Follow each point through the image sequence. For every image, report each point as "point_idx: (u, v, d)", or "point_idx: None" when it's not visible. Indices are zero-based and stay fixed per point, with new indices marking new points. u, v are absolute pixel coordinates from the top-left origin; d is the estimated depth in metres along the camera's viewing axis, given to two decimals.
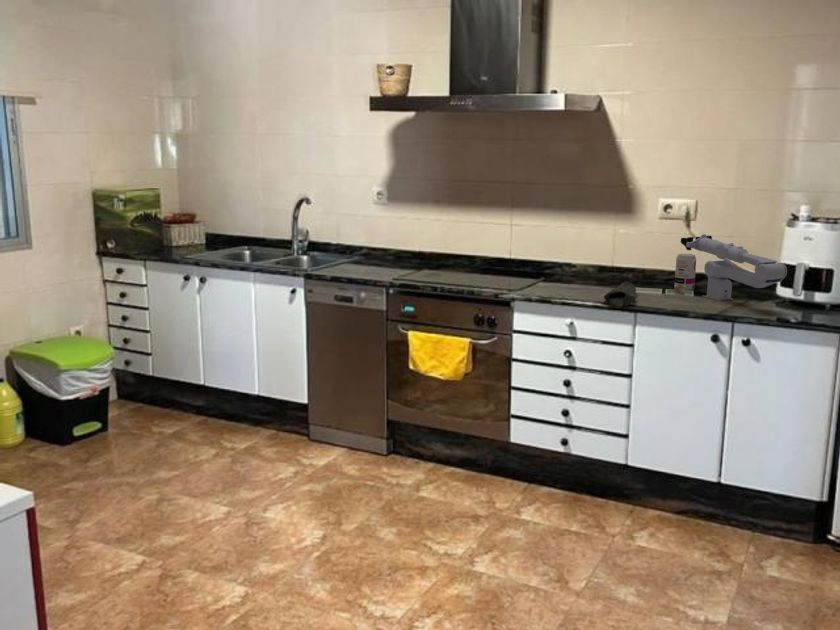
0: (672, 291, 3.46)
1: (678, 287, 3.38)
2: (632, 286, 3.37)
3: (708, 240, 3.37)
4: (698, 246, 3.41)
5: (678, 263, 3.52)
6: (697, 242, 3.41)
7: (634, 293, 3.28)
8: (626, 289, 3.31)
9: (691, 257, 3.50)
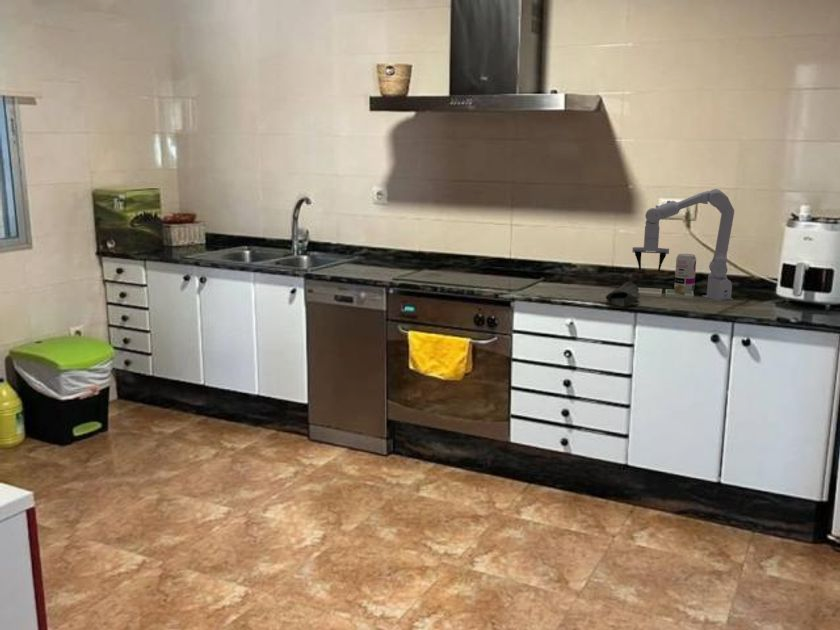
0: (672, 291, 3.46)
1: (678, 287, 3.38)
2: (634, 286, 3.36)
3: (654, 238, 3.37)
4: None
5: (678, 262, 3.52)
6: (658, 249, 3.39)
7: (636, 293, 3.28)
8: (628, 289, 3.31)
9: (691, 257, 3.50)
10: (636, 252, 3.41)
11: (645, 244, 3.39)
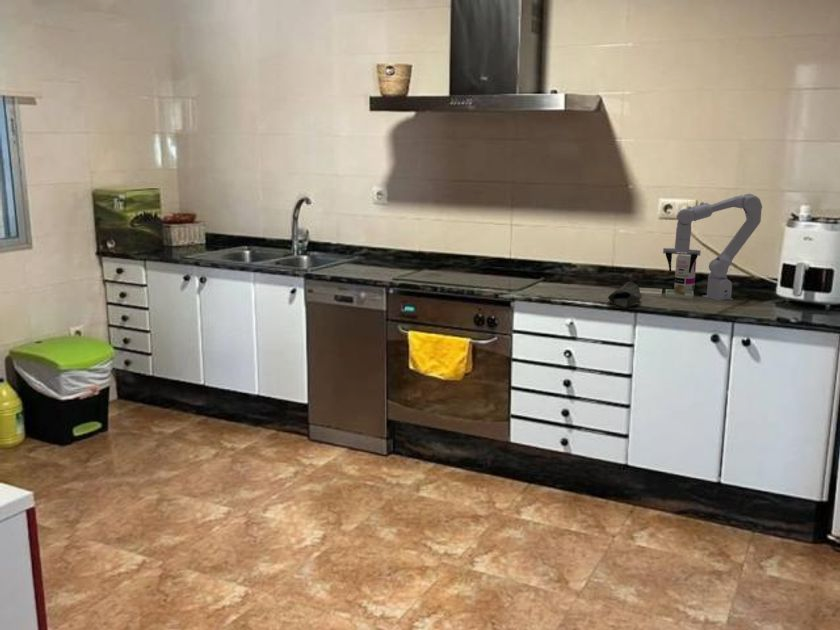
0: (672, 291, 3.46)
1: (678, 287, 3.38)
2: (636, 286, 3.36)
3: (686, 240, 3.33)
4: None
5: (678, 262, 3.52)
6: (689, 250, 3.35)
7: (638, 293, 3.27)
8: (630, 289, 3.30)
9: None
10: (667, 253, 3.38)
11: (676, 245, 3.35)
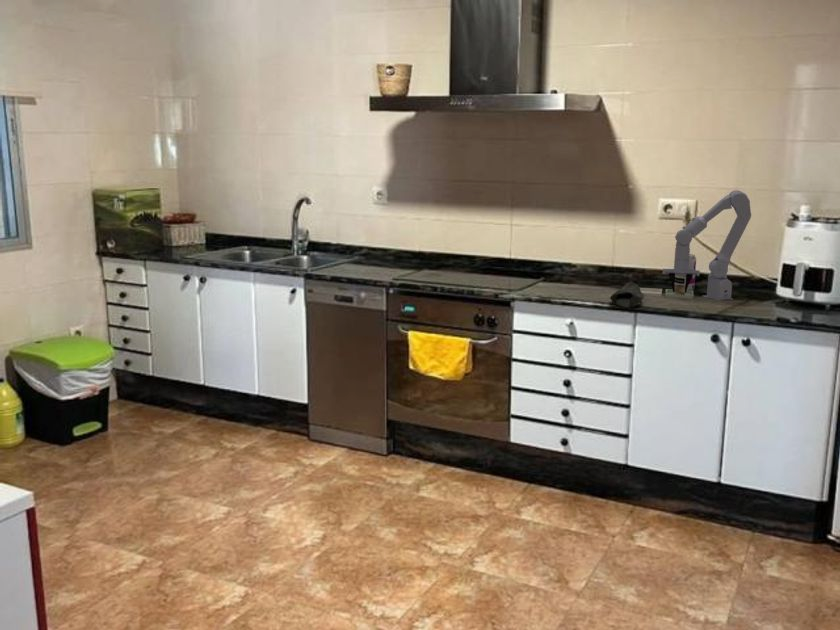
0: (672, 291, 3.46)
1: (678, 287, 3.38)
2: (637, 287, 3.36)
3: (685, 260, 3.35)
4: None
5: None
6: (688, 271, 3.37)
7: (640, 294, 3.27)
8: (631, 290, 3.30)
9: (691, 257, 3.50)
10: None
11: (675, 266, 3.37)
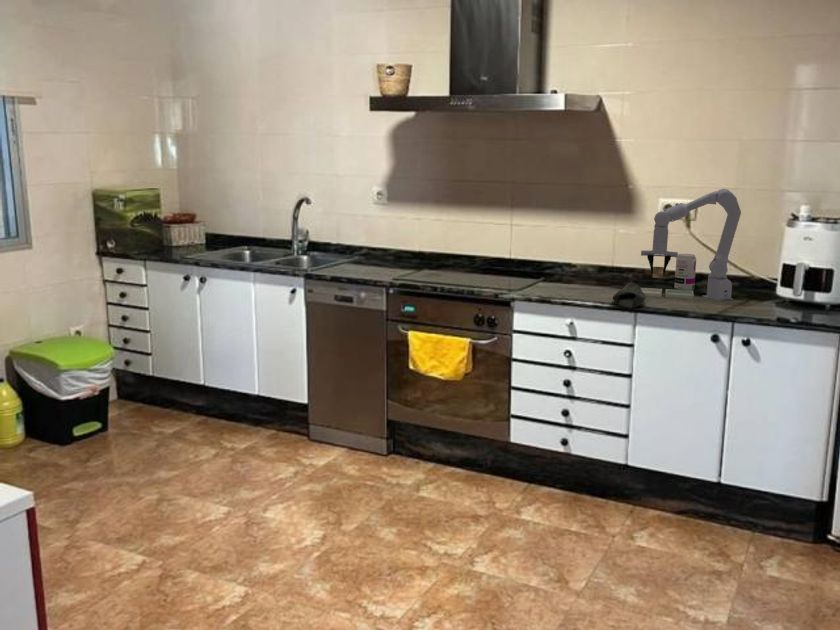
0: (672, 291, 3.46)
1: (656, 269, 3.39)
2: (637, 287, 3.35)
3: (663, 242, 3.36)
4: None
5: (678, 262, 3.52)
6: (666, 252, 3.38)
7: (642, 294, 3.27)
8: (633, 290, 3.29)
9: (691, 257, 3.50)
10: (645, 255, 3.41)
11: (654, 247, 3.38)
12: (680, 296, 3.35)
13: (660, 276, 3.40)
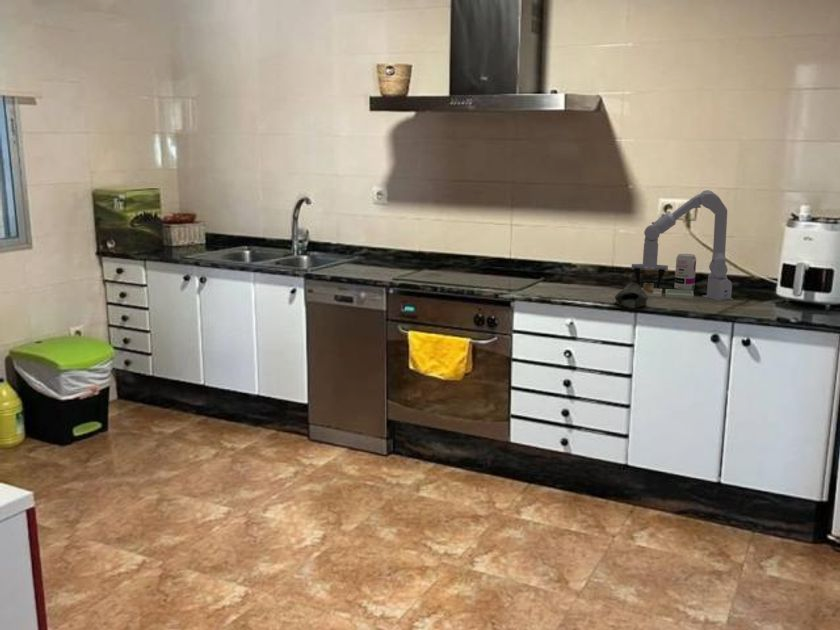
0: (672, 291, 3.46)
1: (647, 285, 3.42)
2: (639, 287, 3.35)
3: (653, 255, 3.38)
4: None
5: (678, 262, 3.52)
6: (657, 266, 3.40)
7: (644, 294, 3.26)
8: (635, 290, 3.29)
9: (691, 257, 3.50)
10: (635, 269, 3.43)
11: (644, 261, 3.40)
12: (680, 296, 3.35)
13: None
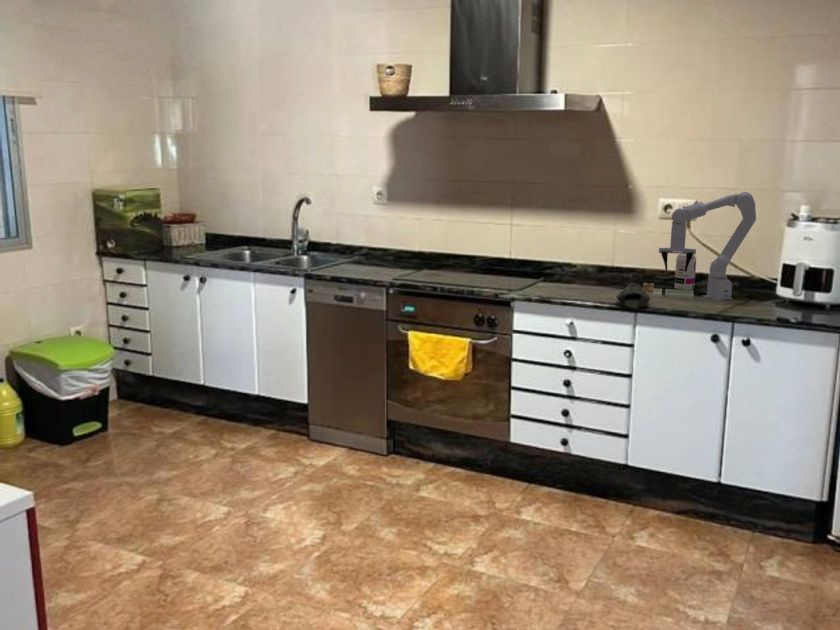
0: (672, 291, 3.46)
1: (647, 285, 3.42)
2: (639, 287, 3.35)
3: (681, 239, 3.36)
4: None
5: (678, 263, 3.52)
6: (684, 249, 3.38)
7: (645, 294, 3.26)
8: (636, 290, 3.29)
9: None
10: (662, 253, 3.41)
11: (672, 245, 3.38)
12: (680, 296, 3.35)
13: None
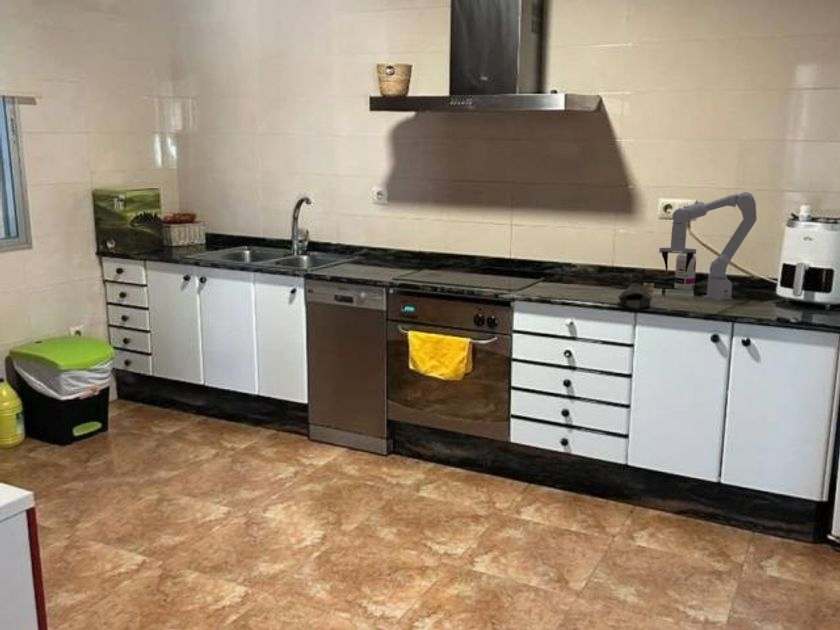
0: (672, 291, 3.46)
1: (647, 285, 3.42)
2: (642, 287, 3.35)
3: (681, 239, 3.36)
4: None
5: (678, 263, 3.52)
6: (685, 249, 3.38)
7: (647, 294, 3.26)
8: (638, 290, 3.28)
9: None
10: (663, 252, 3.41)
11: (672, 244, 3.38)
12: (680, 296, 3.35)
13: None
